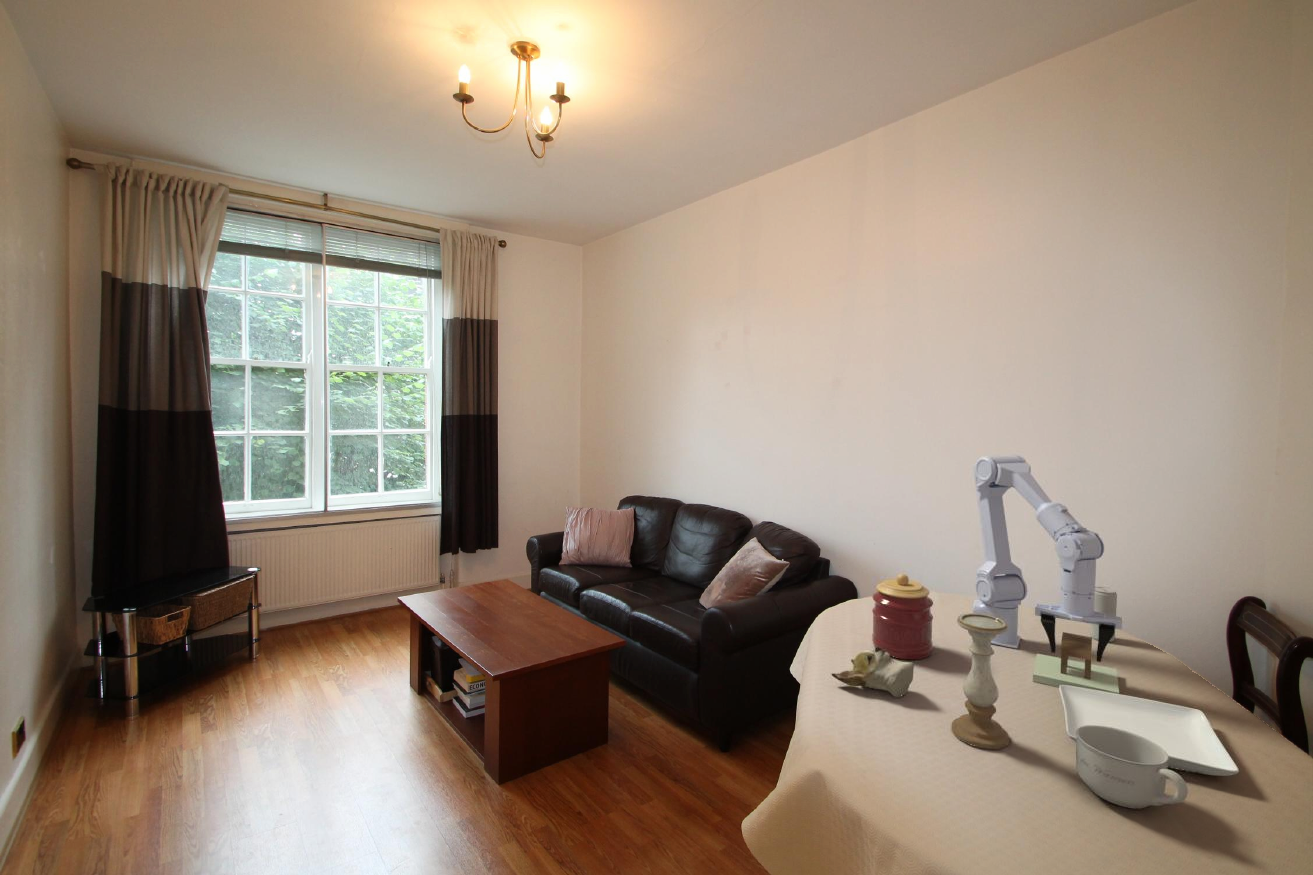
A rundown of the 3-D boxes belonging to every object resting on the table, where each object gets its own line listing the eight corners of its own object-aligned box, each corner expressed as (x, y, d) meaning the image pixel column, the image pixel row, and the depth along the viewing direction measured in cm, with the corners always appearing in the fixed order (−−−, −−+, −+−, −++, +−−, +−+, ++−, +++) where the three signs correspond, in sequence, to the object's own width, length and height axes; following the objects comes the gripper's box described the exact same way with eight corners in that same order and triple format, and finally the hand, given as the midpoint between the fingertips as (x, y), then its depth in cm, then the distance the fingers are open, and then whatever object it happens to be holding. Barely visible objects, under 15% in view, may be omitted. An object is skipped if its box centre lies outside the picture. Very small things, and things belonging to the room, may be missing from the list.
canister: (936, 644, 143) (937, 571, 142) (927, 665, 132) (928, 586, 131) (878, 633, 150) (879, 563, 149) (865, 653, 139) (866, 577, 138)
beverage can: (1106, 635, 147) (1108, 586, 146) (1120, 643, 142) (1121, 592, 141) (1085, 634, 147) (1087, 586, 147) (1098, 642, 143) (1099, 592, 142)
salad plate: (1057, 698, 118) (1057, 680, 118) (1201, 726, 107) (1202, 707, 107) (1067, 754, 100) (1067, 734, 99) (1241, 795, 89) (1242, 772, 89)
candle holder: (987, 755, 99) (990, 634, 98) (940, 729, 107) (942, 617, 105) (1020, 741, 103) (1023, 624, 102) (972, 717, 111) (974, 608, 109)
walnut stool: (1060, 673, 124) (1061, 639, 124) (1061, 664, 128) (1062, 631, 128) (1090, 679, 121) (1091, 645, 121) (1090, 670, 125) (1092, 637, 125)
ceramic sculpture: (902, 663, 113) (828, 647, 123) (904, 710, 113) (830, 689, 124) (923, 646, 121) (851, 632, 131) (924, 689, 121) (853, 672, 131)
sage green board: (1032, 681, 124) (1032, 674, 124) (1036, 660, 134) (1037, 653, 134) (1118, 700, 116) (1119, 692, 116) (1116, 676, 126) (1116, 669, 126)
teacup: (1057, 774, 94) (1058, 724, 93) (1122, 769, 95) (1124, 719, 94) (1135, 839, 80) (1137, 780, 80) (1210, 833, 81) (1213, 775, 81)
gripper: (1034, 589, 125) (1032, 654, 126) (1123, 602, 116) (1120, 671, 117) (1036, 580, 130) (1035, 642, 131) (1121, 592, 122) (1119, 658, 123)
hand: (1075, 655), depth 125 cm, fingers open, 7 cm apart
